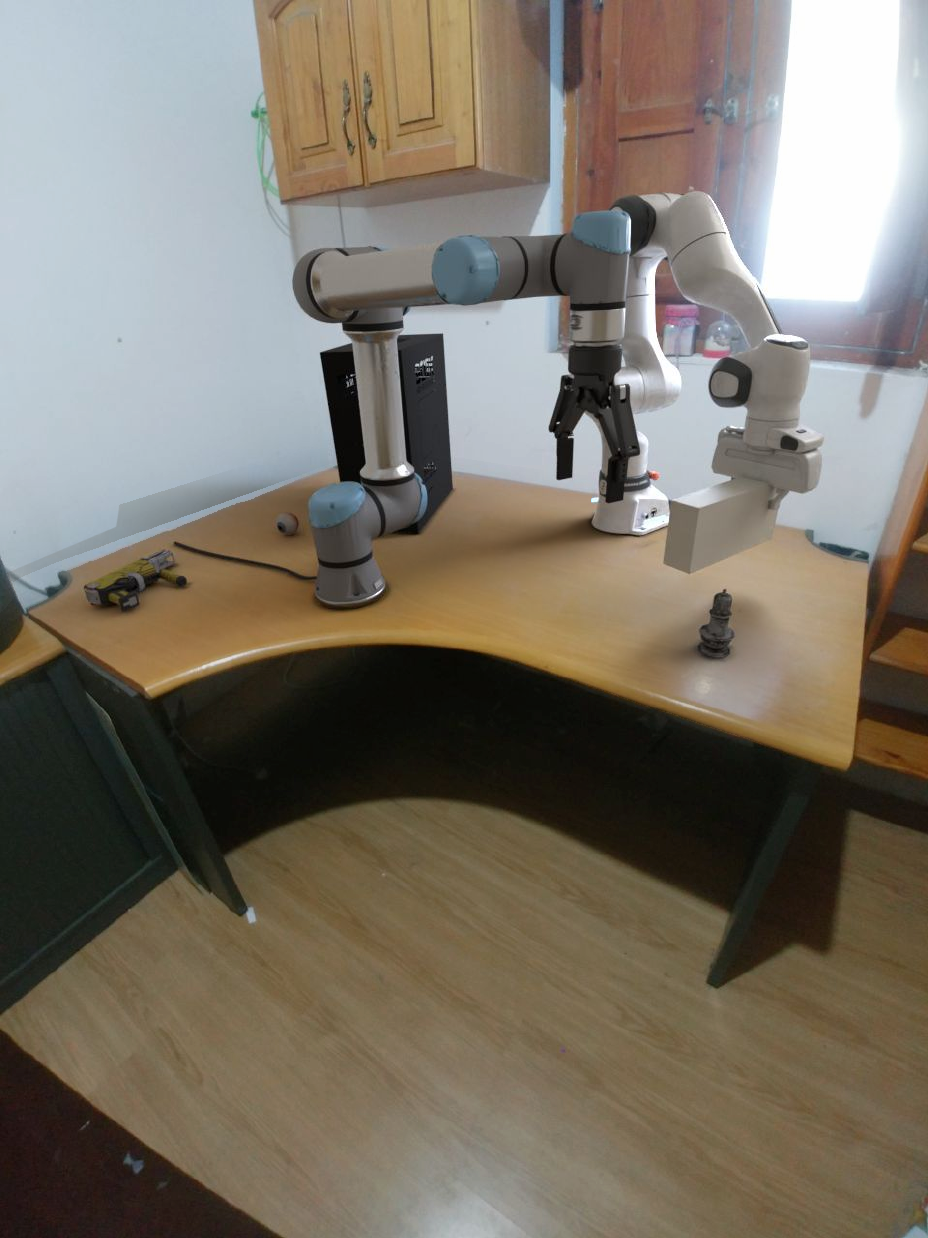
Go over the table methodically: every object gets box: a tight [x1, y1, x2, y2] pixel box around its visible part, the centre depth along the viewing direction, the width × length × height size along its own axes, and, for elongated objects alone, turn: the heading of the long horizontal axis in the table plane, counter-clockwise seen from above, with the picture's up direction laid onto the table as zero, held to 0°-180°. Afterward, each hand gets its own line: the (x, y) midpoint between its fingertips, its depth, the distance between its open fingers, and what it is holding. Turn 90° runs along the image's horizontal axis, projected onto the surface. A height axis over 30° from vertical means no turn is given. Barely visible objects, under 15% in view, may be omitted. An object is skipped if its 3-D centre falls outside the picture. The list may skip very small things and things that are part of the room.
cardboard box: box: [319, 332, 454, 535], centre depth 167 cm, size 38×20×45 cm, turn 167°
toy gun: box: [83, 548, 188, 613], centre depth 139 cm, size 5×24×15 cm
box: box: [662, 477, 779, 575], centre depth 114 cm, size 25×6×12 cm, turn 124°
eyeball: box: [275, 511, 300, 536], centre depth 163 cm, size 6×6×6 cm
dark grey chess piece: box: [697, 588, 736, 659], centre depth 103 cm, size 6×6×12 cm
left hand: (587, 489), depth 96 cm, fingers open, 13 cm apart
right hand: (755, 504), depth 118 cm, fingers closed on box, 6 cm apart
